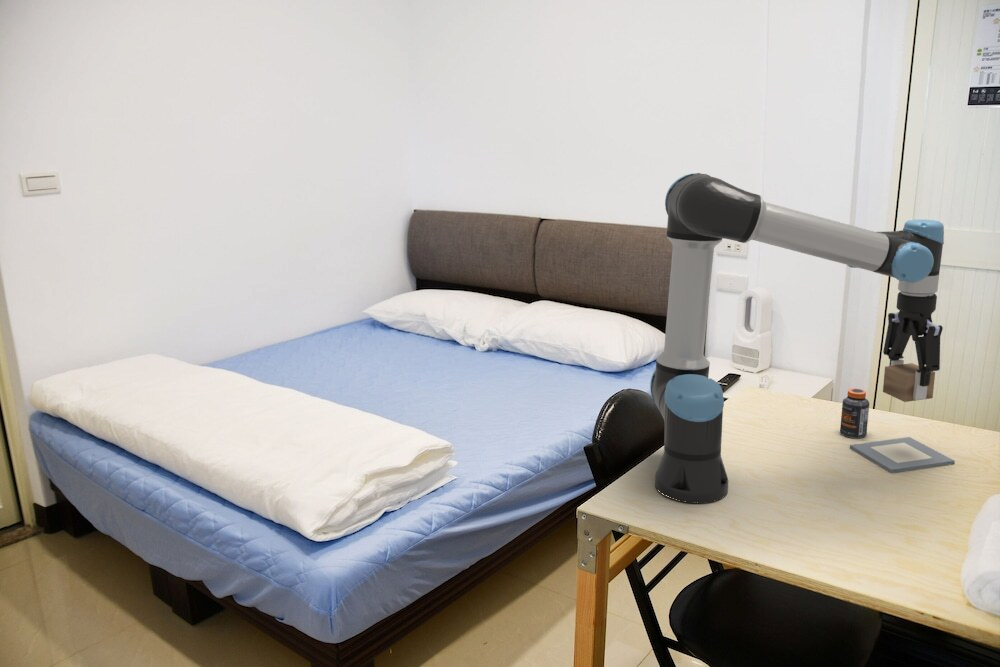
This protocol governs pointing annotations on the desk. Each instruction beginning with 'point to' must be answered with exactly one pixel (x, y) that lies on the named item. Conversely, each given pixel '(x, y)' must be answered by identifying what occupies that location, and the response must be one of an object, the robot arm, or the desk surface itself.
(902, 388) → the walnut block
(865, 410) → the pill bottle
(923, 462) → the board
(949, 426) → the desk surface
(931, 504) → the desk surface
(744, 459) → the desk surface
